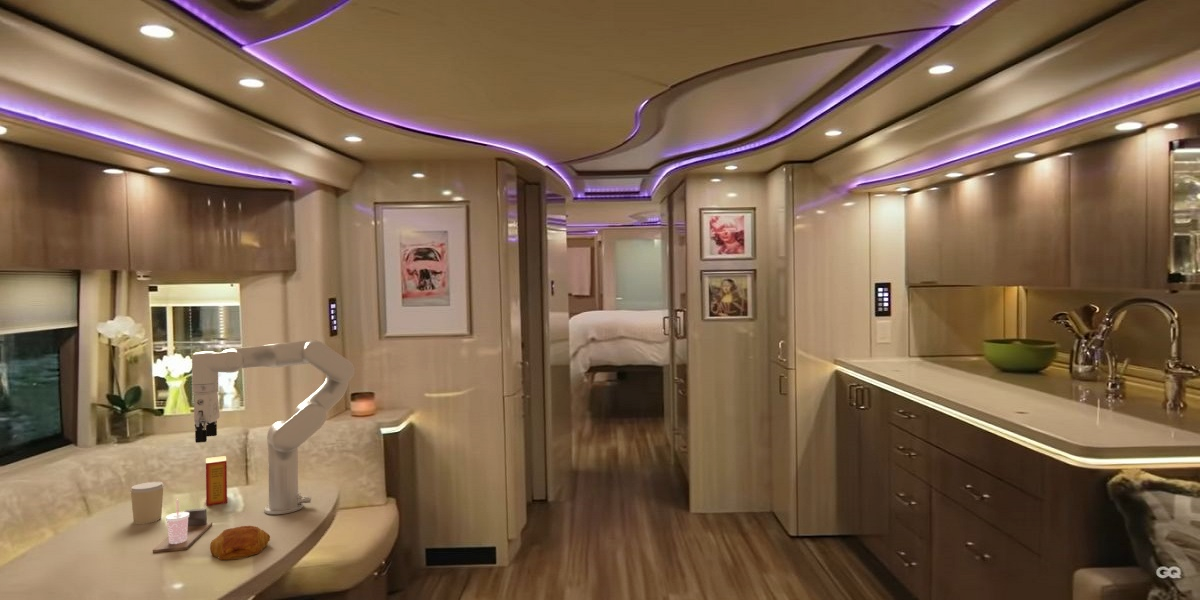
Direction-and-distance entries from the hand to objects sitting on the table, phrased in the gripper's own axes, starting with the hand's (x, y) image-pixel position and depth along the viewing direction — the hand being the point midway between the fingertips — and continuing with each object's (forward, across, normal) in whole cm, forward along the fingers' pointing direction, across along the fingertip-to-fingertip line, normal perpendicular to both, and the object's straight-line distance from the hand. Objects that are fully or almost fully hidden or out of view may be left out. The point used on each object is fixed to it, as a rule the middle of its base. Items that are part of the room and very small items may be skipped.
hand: (206, 439), depth 218 cm
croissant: (+29, -31, -18) cm, 46 cm away
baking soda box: (+28, +25, +5) cm, 38 cm away
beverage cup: (+28, -19, +2) cm, 34 cm away
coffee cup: (+28, +8, +21) cm, 36 cm away
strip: (+28, -14, +2) cm, 32 cm away
